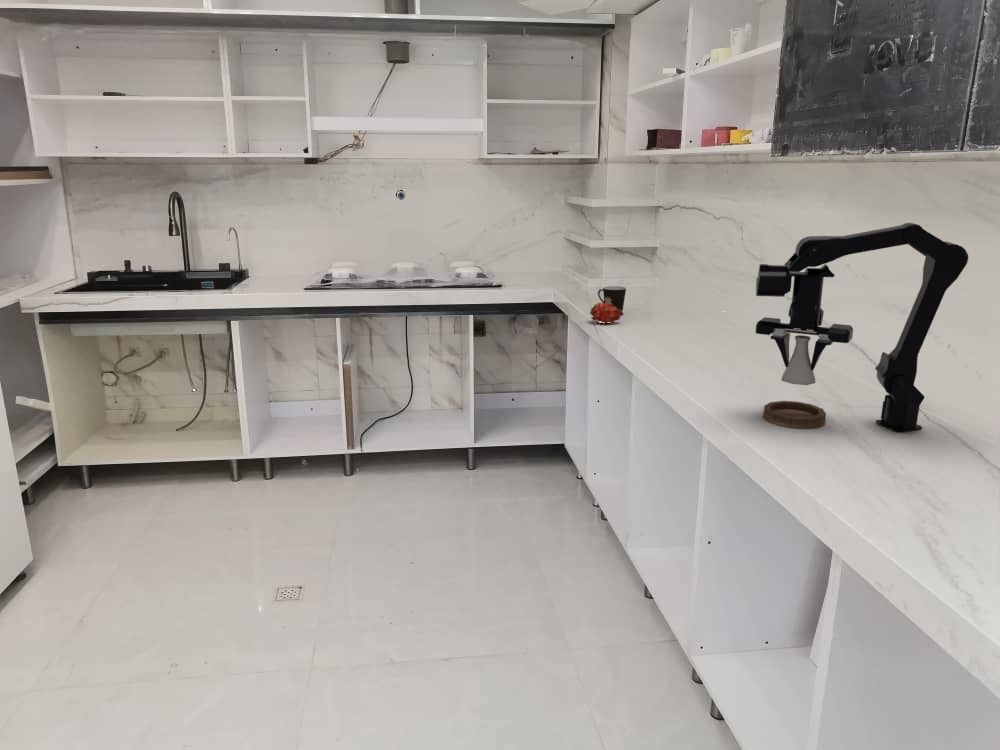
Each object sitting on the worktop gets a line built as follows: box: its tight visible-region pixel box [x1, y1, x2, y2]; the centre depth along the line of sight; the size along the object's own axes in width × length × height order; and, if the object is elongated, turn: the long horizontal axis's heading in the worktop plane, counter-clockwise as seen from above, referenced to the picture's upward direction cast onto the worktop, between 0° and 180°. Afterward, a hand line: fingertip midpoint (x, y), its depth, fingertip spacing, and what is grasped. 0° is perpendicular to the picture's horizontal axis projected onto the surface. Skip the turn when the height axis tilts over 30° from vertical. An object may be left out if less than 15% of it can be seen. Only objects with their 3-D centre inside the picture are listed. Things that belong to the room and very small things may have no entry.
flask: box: [780, 334, 816, 386], centre depth 157 cm, size 7×7×10 cm
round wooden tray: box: [762, 400, 827, 430], centre depth 161 cm, size 13×13×2 cm
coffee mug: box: [597, 285, 627, 311], centre depth 276 cm, size 12×9×10 cm
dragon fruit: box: [589, 302, 624, 323], centre depth 258 cm, size 8×8×12 cm
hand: (799, 368), depth 158 cm, fingers closed on flask, 5 cm apart
